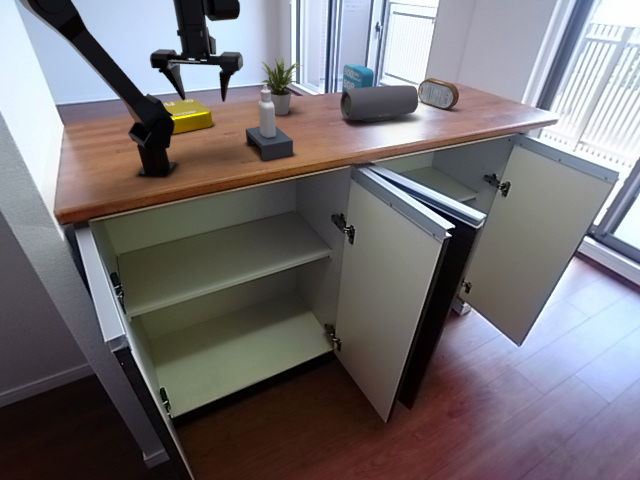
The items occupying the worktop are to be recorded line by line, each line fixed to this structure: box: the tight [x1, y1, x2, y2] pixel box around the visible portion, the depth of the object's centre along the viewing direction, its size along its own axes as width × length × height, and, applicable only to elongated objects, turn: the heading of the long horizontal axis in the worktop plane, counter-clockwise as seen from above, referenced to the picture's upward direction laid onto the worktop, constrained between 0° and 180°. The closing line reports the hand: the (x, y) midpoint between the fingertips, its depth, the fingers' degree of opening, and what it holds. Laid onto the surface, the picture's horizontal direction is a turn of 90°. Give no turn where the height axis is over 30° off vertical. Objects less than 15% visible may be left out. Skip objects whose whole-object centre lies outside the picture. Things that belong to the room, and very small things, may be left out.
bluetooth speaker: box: [339, 84, 419, 123], centre depth 115 cm, size 23×9×10 cm, turn 110°
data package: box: [341, 62, 375, 95], centre depth 126 cm, size 12×4×12 cm, turn 28°
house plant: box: [260, 57, 304, 116], centre depth 114 cm, size 14×14×16 cm
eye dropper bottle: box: [258, 84, 276, 138], centre depth 91 cm, size 4×6×12 cm
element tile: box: [162, 98, 214, 135], centre depth 108 cm, size 15×15×5 cm
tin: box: [417, 77, 460, 110], centre depth 128 cm, size 15×3×8 cm, turn 42°
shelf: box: [245, 125, 294, 162], centre depth 96 cm, size 8×12×4 cm, turn 29°
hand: (204, 100), depth 86 cm, fingers open, 9 cm apart
